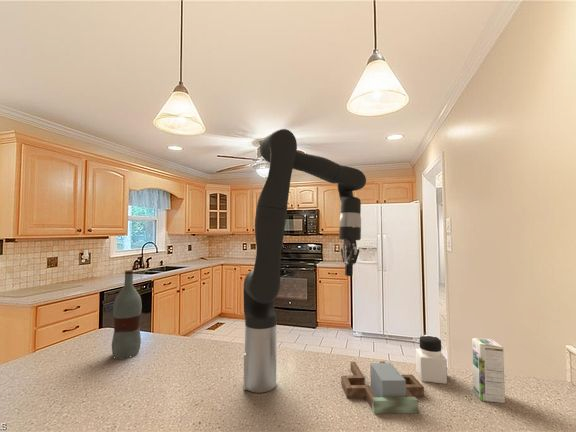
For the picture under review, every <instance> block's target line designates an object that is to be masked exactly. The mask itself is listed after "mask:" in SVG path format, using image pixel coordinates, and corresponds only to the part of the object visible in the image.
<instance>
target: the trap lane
mask: <svg viewBox="0 0 576 432" xmlns="http://www.w3.org/2000/svg"><path fill="white" fill-rule="evenodd" d="M379 363H386V362H385V361H379ZM350 371H351V374H353V375H340V377H341V379H340V385H341V387H342V389H343V392H344V394H345V396H346V398H347V399H359V398H360V399H361V398H365V399H366V401H367V402H368V405H369V407H370V409H371V410H372V413H373V414H374V415H375V414H418V413H419V400H418V398H417V397H419V398H420V397H421V398H422V397H425V387H424V385H423V384H421V382H420V381H419V380H418V379H417V378H416V377H415V376H414V375H413V374H401V375H402V377H403V378H404V379H405V380H406V397H376V396H375V394H374V392H373V391H372V389H371V385H369V384H366V383H365V382H366V377H365V375H364V373H363V372H362V371H361V369H360V368H359V366H358V364H357V363H356V361H350Z"/></svg>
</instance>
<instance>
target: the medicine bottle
mask: <svg viewBox="0 0 576 432" xmlns="http://www.w3.org/2000/svg"><path fill="white" fill-rule="evenodd" d="M447 361H448V360H447V358H446V356H444V354H443V353H442V340H441V339H440V338H438V337H436V336H434V335H429V334H426V335H421V336H419V348H415V368H416V369H415V370H416V373H417V375H418V376H419V379H420V380H421V382H424V383H436V384H445V385H446V384H448V372H447V370H448V365H447Z"/></svg>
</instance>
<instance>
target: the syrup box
mask: <svg viewBox="0 0 576 432" xmlns="http://www.w3.org/2000/svg"><path fill="white" fill-rule="evenodd" d="M471 341H472V342H471V343H472V388H473V389H472V391H474V392H475V395H477V397H478V398H479V400H480V401H482V402H492V403H501V404H502V403H503V404H505V403H506V395H505V394H506V390H505V389H506V388H505V355H504V350H505V349H504V347H503V346H502V345H500V344H499V343H498V342H497V341H495V340H494V339H491V338H483V337H472V340H471Z"/></svg>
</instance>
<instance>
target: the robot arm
mask: <svg viewBox="0 0 576 432" xmlns="http://www.w3.org/2000/svg"><path fill="white" fill-rule="evenodd" d="M259 153H260V155H261V157H262V158H263V159H264V160H265V161H266V162H268V163H269V169H268V173H267V178H266V180H265V182H264V184H263V186H262V188H261V191H260V193H259V196H258V199H257V202H256V203H257V204H256V210H255V216H254V217H255V218H254V235H255V236H254V237H255V245H256V254H255V261H254V266H253V267H254V268H253V269H251V270H249V272H248V273H247V274H246V275H245V278H244V280H243V281H244V282H243V313H244V314H243V315H244V354H243V390H244V391H248V392H252V393H259V394H260V393H267V392H270V391H272V390H274V389H275V388H276V387H277V341H278V340H277V336H278V335H277V331H278V330H277V329H278V328H277V327H278V325H277V323H278V322H277V319H278V317H277V313H276V311H275V305H274V300H275V299H276V298H277V296H278V294H279V292H280V289H281V258H282V250H283V242H284V236H285V227H286V222H287V213H288V203H289V195H290V187H291V178H292V173H293V169H294V170H297V171H300V172H303V173H306V174H308V175H311V176H314V177H316V178H318V179H321V180H323V181H326V182H327V183H330V184H337V191H338V196H339V201H340V216H339V225H338V226H339V229H338V230H339V231H338V232H339V233H338V234H339V235H338V239H339V240H343V243H342V248H340V254H341V255H340V256H341V259H342V263H344V265H345V267H344V270H345V271H344V275H345V276H346V277H353V271H354V265H355V264H356V263H357V260H358V257H359V255H360V249H359V248H358V246H357V241H361V239H362V217H361V214H362V213H361V211H362V209H361V207H362V204H361V203H362V202H361V201H362V200H361V199H360V198H359V197H356V196H354V194H353V192H354V191H359V190H361V189H363V188H364V187H365V186H366V184H367V178H366V177H367V176H366V175H365V173H364V172H363V171H361V170H360V169H357V168H354V167H351V166H347V165H341V164H339V163H338V162H335V161H333V160H330V159H328V158H327V157H323V156H319V155H315V154H309V153H306V152H301V151H299V150H298V143H297V138H296V135H294V133H293V132H292V131H291V130H289V129H287V128H280V129H278V130H274V131H273V132H271V133H270V134H268V135H267V136H266V137H264V138H263V139H262V140H261V142H260V145H259Z"/></svg>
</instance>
